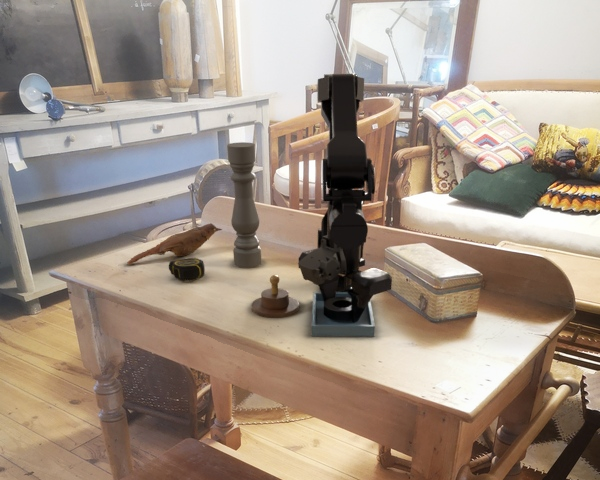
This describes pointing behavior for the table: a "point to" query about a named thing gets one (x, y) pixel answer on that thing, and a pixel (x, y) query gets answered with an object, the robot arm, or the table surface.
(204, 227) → the bird sculpture
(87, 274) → the table surface
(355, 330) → the tray
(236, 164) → the candle holder
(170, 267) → the tape measure
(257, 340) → the table surface
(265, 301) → the wooden peg stand
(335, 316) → the ring
